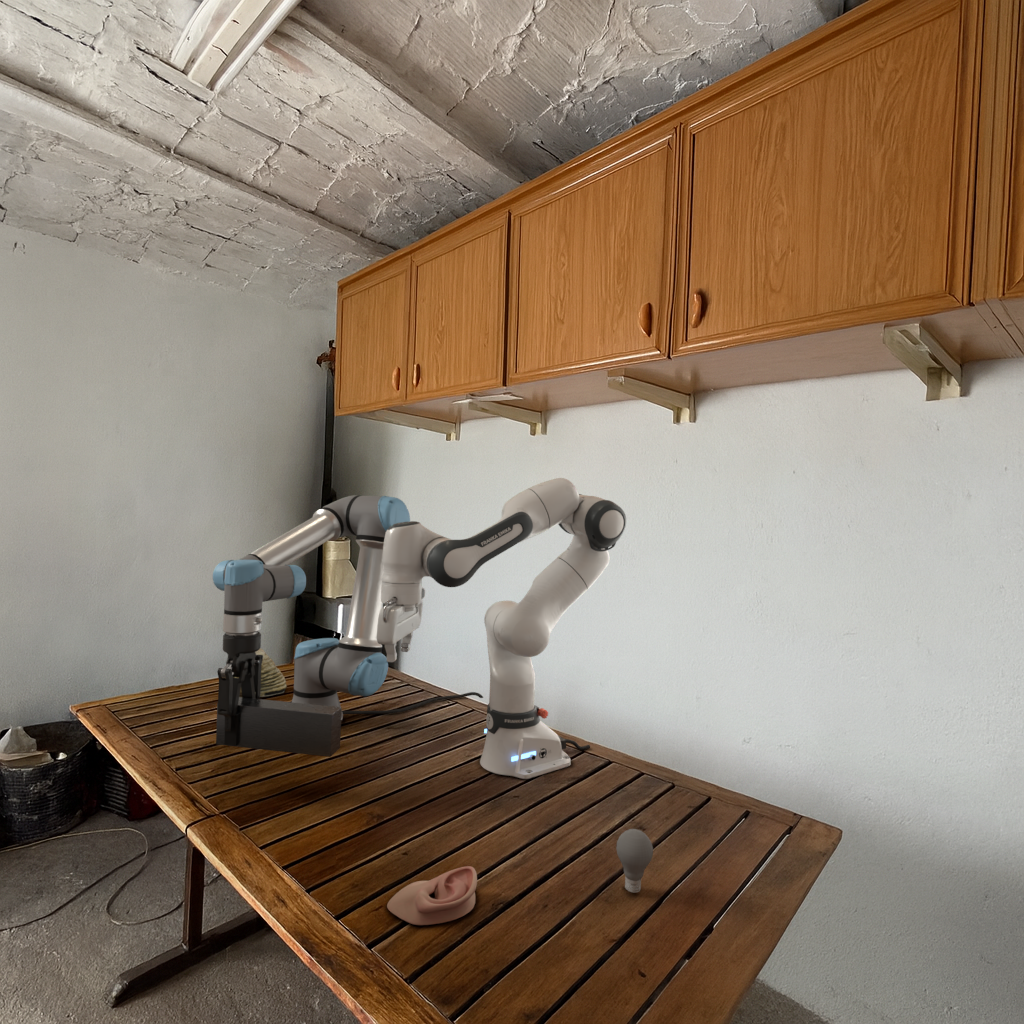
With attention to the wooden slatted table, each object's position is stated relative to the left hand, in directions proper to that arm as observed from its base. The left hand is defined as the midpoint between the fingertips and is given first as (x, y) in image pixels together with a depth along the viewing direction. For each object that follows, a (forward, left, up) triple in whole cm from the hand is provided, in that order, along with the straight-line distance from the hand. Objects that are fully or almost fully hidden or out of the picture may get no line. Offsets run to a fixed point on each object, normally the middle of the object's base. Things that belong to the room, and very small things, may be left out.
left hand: (238, 739), depth 136 cm
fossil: (-35, -55, -10) cm, 66 cm away
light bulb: (-26, +81, -10) cm, 86 cm away
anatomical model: (-1, +59, -10) cm, 60 cm away
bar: (-5, +8, -1) cm, 9 cm away
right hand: (-24, +23, +18) cm, 38 cm away
